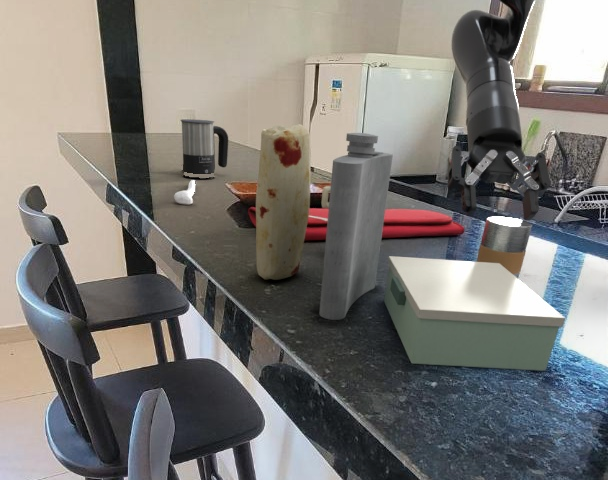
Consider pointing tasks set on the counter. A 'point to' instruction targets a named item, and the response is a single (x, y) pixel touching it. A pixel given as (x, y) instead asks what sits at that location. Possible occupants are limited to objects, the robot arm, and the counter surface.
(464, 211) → the robot arm
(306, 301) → the counter surface
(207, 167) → the milk frother
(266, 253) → the food model
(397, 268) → the box
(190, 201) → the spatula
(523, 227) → the tin can
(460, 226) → the dish drying mat
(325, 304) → the hip flask
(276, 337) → the counter surface
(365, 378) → the counter surface
